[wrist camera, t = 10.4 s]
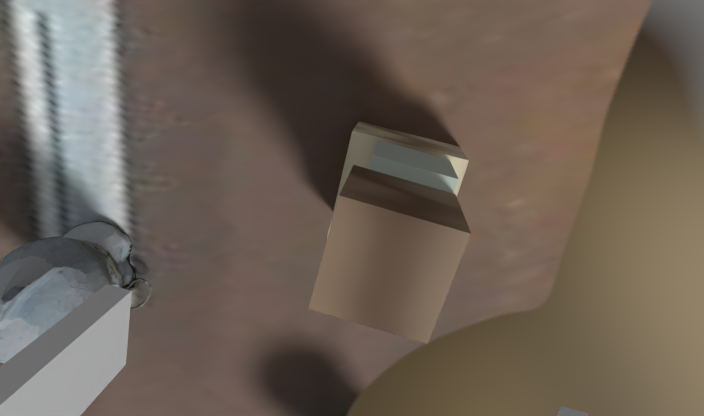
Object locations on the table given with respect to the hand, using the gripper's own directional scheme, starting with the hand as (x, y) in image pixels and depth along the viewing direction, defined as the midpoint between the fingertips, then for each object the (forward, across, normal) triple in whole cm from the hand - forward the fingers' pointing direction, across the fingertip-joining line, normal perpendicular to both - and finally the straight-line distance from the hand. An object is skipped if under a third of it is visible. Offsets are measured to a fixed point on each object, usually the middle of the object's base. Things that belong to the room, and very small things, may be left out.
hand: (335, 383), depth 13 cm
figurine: (+24, -22, -14) cm, 35 cm away
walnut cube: (+14, +1, 0) cm, 14 cm away
